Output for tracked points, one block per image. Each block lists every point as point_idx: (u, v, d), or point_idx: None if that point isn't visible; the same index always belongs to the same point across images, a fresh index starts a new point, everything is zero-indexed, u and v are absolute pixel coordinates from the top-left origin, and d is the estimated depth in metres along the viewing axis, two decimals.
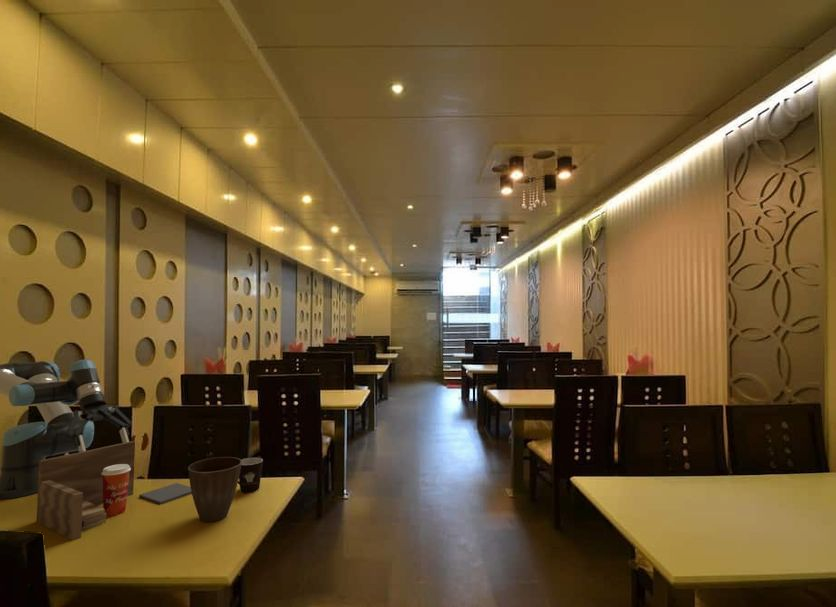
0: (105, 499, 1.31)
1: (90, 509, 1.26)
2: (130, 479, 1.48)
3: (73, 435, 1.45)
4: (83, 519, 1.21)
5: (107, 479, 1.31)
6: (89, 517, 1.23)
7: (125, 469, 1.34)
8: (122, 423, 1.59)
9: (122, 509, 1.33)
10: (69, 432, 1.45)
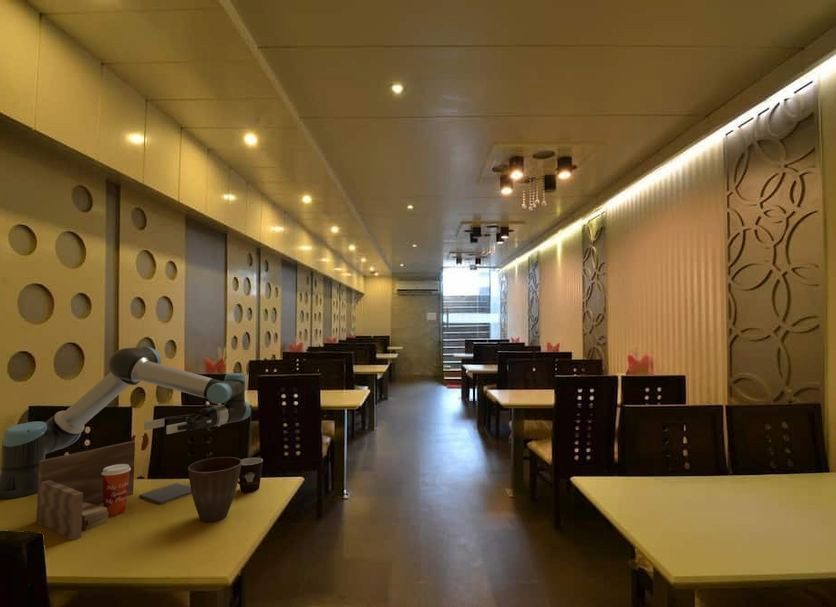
0: (105, 499, 1.31)
1: (91, 508, 1.26)
2: (130, 479, 1.48)
3: (190, 428, 1.47)
4: (87, 518, 1.22)
5: (107, 479, 1.31)
6: (92, 516, 1.23)
7: (125, 469, 1.34)
8: (168, 424, 1.56)
9: (122, 509, 1.33)
10: None
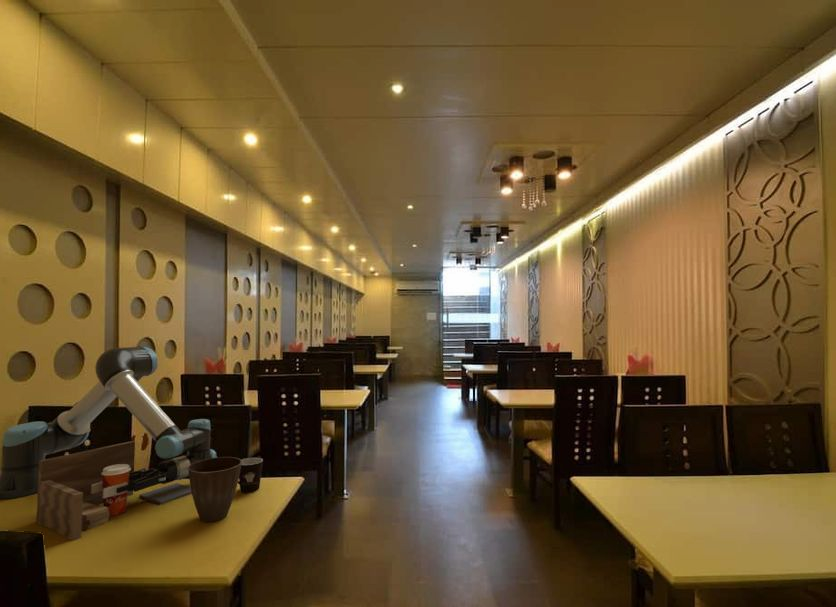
0: (105, 499, 1.31)
1: (92, 508, 1.26)
2: None
3: (131, 489, 1.33)
4: (89, 518, 1.22)
5: (107, 479, 1.31)
6: (94, 515, 1.24)
7: (125, 469, 1.34)
8: None
9: (122, 509, 1.33)
10: None
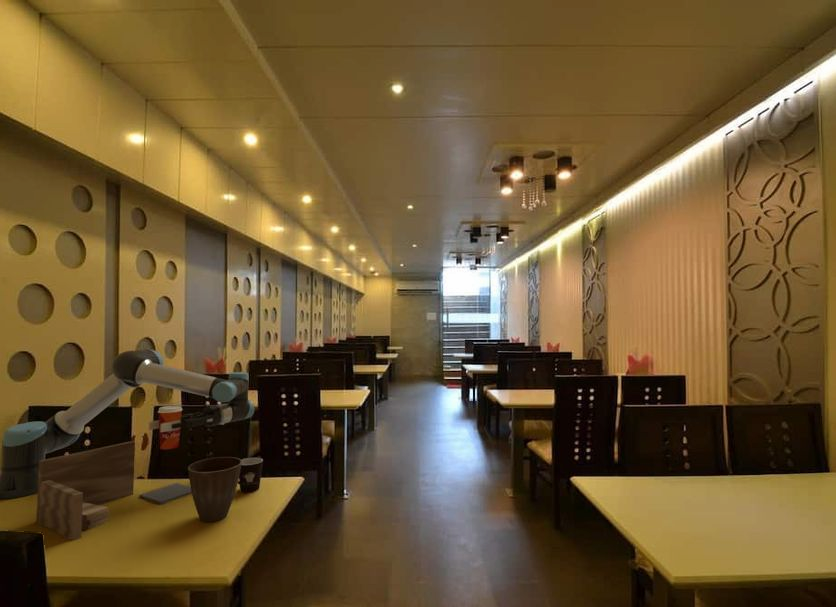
0: (161, 434, 1.46)
1: (92, 508, 1.26)
2: (130, 479, 1.48)
3: (184, 426, 1.48)
4: (89, 518, 1.22)
5: (164, 416, 1.46)
6: (94, 515, 1.24)
7: (178, 408, 1.49)
8: None
9: (176, 444, 1.48)
10: (189, 427, 1.49)
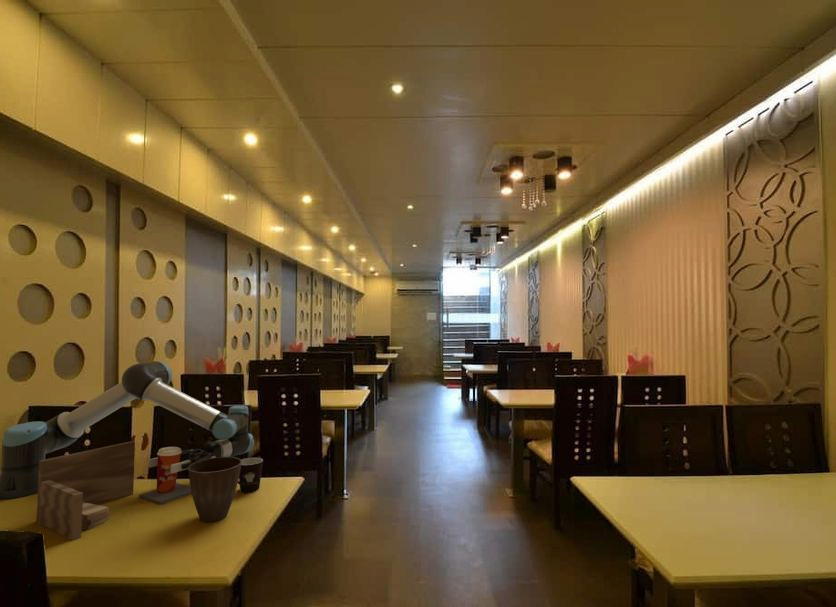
0: (159, 477, 1.48)
1: (92, 508, 1.26)
2: (130, 479, 1.48)
3: None
4: (90, 517, 1.22)
5: (162, 459, 1.48)
6: (95, 515, 1.24)
7: (177, 451, 1.50)
8: None
9: (172, 487, 1.49)
10: None
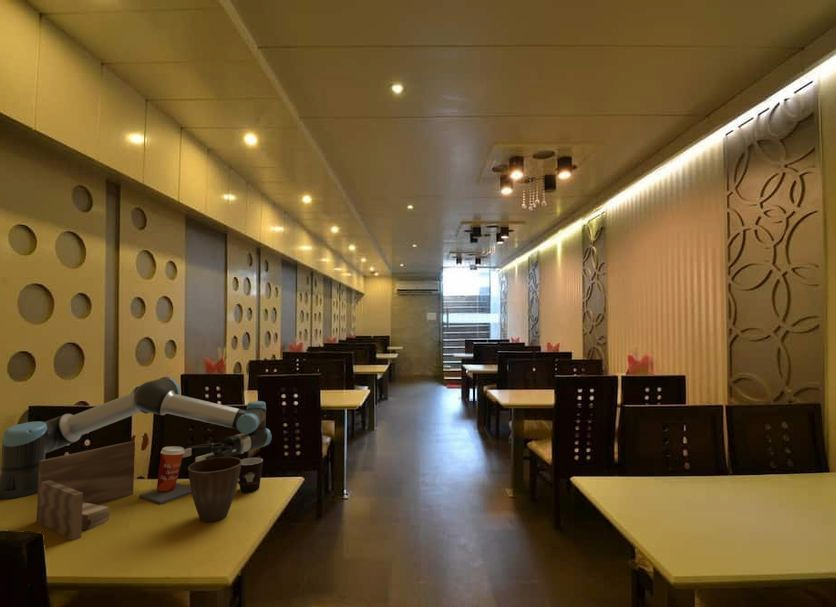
0: (160, 475, 1.48)
1: (92, 508, 1.26)
2: (130, 479, 1.48)
3: None
4: (90, 517, 1.22)
5: (165, 457, 1.48)
6: (95, 515, 1.24)
7: (180, 451, 1.51)
8: None
9: (172, 487, 1.50)
10: None
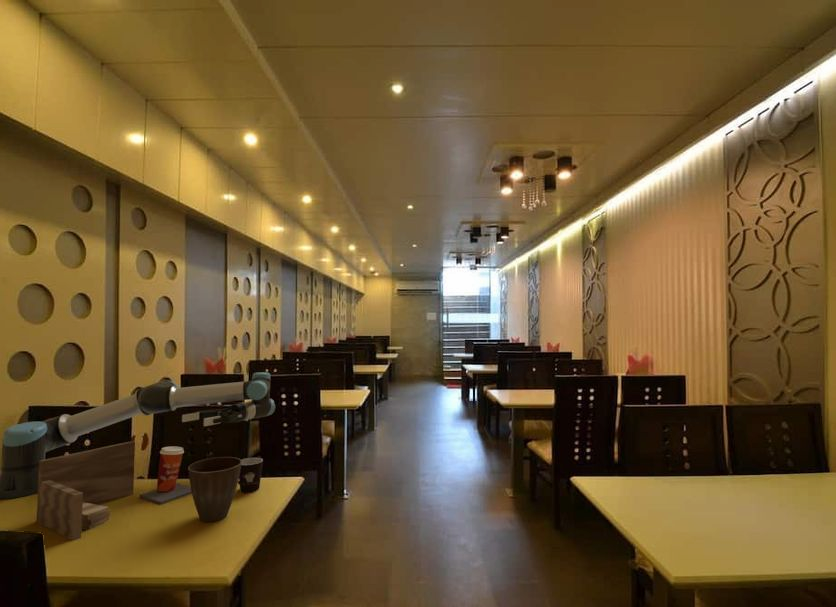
0: (160, 475, 1.48)
1: (92, 508, 1.26)
2: (130, 479, 1.48)
3: (224, 421, 1.62)
4: (90, 517, 1.22)
5: (164, 457, 1.48)
6: (95, 515, 1.24)
7: (180, 451, 1.51)
8: None
9: (172, 487, 1.49)
10: None
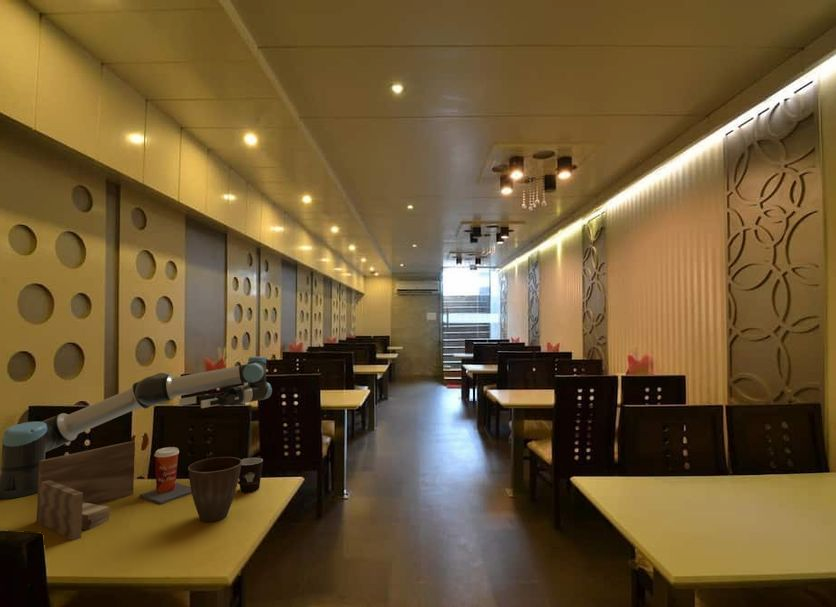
0: (157, 478, 1.47)
1: (92, 508, 1.26)
2: (130, 479, 1.48)
3: (221, 403, 1.63)
4: (90, 517, 1.23)
5: (160, 460, 1.47)
6: (95, 515, 1.24)
7: (174, 452, 1.49)
8: None
9: (172, 487, 1.49)
10: (225, 404, 1.64)
